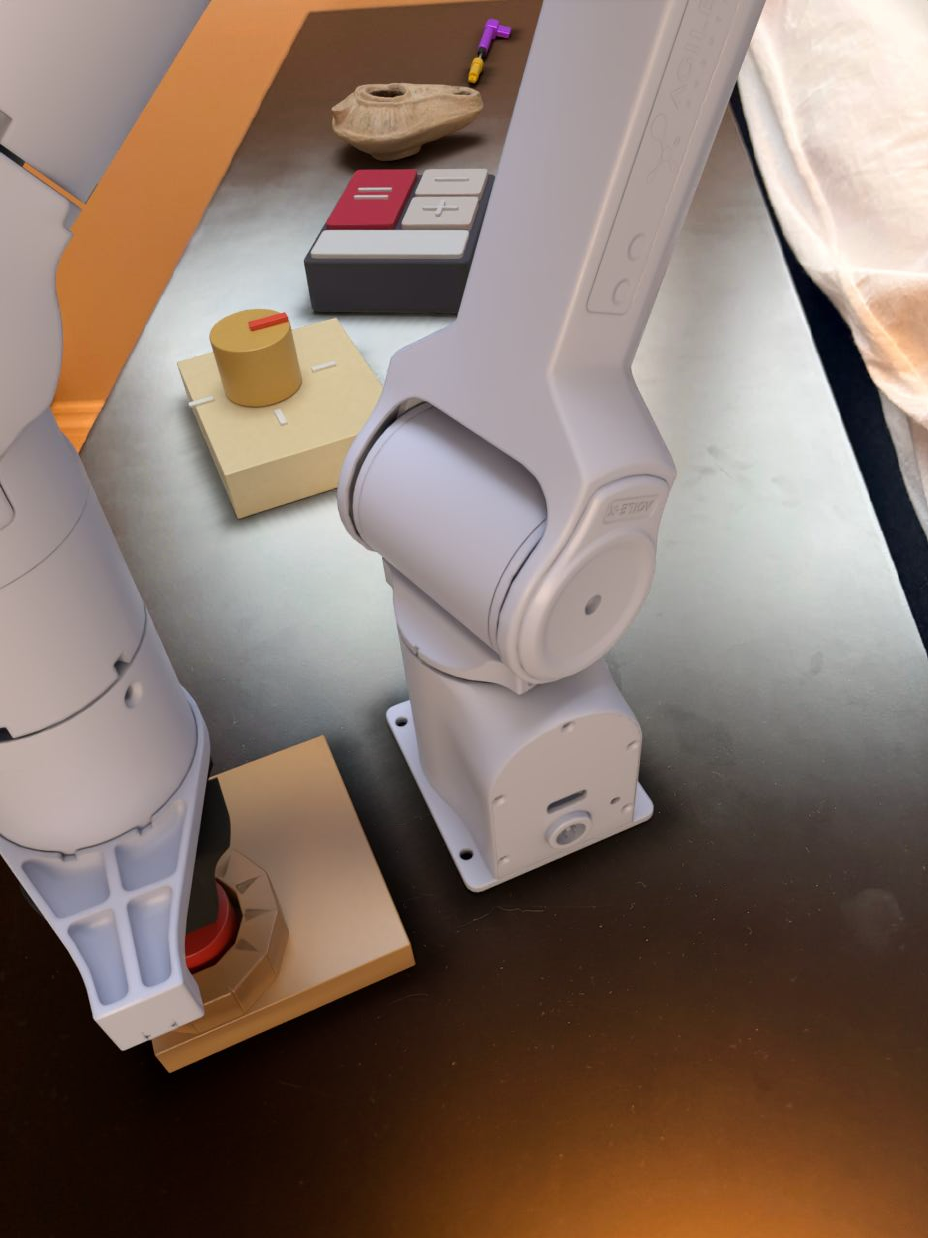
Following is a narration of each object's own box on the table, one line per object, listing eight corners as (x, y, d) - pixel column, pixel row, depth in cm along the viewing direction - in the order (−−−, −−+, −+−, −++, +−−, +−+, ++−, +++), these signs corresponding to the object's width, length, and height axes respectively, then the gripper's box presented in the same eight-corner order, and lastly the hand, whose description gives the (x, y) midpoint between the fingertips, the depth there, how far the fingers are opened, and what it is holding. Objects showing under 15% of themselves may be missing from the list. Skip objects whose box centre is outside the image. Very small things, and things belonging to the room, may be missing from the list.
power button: (250, 959, 34) (238, 936, 32) (163, 996, 33) (147, 974, 32) (229, 886, 36) (217, 861, 34) (146, 919, 35) (131, 895, 34)
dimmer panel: (411, 464, 55) (405, 417, 53) (232, 521, 53) (218, 474, 51) (343, 359, 63) (335, 314, 61) (185, 405, 61) (170, 360, 59)
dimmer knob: (235, 415, 54) (217, 354, 52) (216, 375, 57) (199, 316, 55) (311, 393, 55) (298, 332, 53) (289, 355, 58) (276, 295, 55)
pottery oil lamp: (498, 150, 82) (468, 83, 76) (369, 210, 86) (330, 151, 79) (477, 77, 86) (447, 7, 80) (354, 137, 89) (315, 75, 83)
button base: (416, 965, 36) (405, 920, 33) (150, 1082, 33) (116, 1044, 31) (330, 757, 42) (315, 707, 40) (103, 844, 40) (72, 797, 37)
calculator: (495, 162, 73) (467, 250, 63) (498, 220, 76) (471, 314, 66) (350, 163, 75) (299, 249, 64) (358, 220, 78) (310, 312, 67)
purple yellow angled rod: (485, 27, 104) (464, 86, 94) (487, 15, 104) (466, 72, 93) (510, 33, 104) (492, 92, 94) (512, 21, 104) (494, 79, 93)
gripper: (-156, 515, 27) (37, 792, 37) (-163, 997, 18) (98, 1195, 27) (104, 439, 28) (221, 724, 38) (225, 844, 19) (339, 1083, 29)
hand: (184, 915), depth 33 cm, fingers closed, pressing on power button
